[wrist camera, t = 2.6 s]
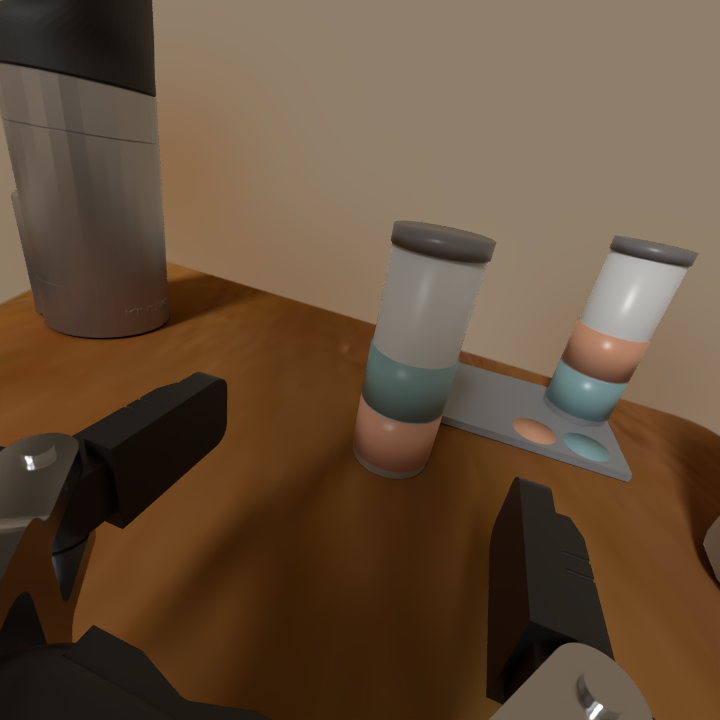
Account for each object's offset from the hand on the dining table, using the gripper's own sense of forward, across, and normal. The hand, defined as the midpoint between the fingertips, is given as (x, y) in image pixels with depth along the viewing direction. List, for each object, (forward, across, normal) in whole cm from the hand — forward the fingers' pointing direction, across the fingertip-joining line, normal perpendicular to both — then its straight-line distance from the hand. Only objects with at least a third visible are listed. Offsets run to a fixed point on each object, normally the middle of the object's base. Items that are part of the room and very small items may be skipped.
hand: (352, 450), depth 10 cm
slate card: (+22, -8, +8) cm, 24 cm away
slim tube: (+12, 0, +9) cm, 14 cm away
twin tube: (+24, -12, +8) cm, 28 cm away
